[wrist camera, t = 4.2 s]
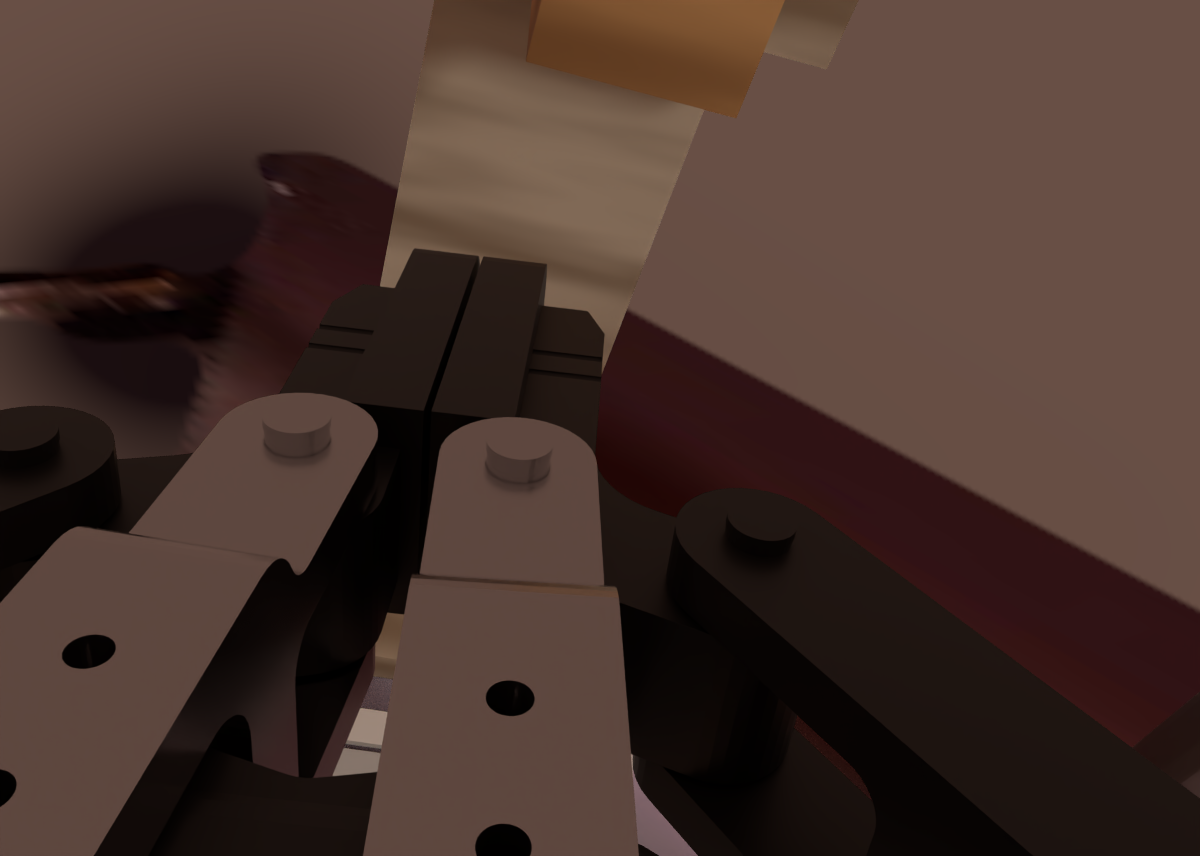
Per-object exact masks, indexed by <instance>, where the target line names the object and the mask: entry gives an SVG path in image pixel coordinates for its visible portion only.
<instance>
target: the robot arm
mask: <svg viewBox="0 0 1200 856" xmlns="http://www.w3.org/2000/svg"><path fill="white" fill-rule="evenodd" d="M546 278H547V264H544V263H535V262H527V261H519V260H511V259H502V258H494V257H486V256H484V257H483V259H482V261H481V264H480V259H479V256H476V255H468V254H459V253H451V252H443V251H434V250H426V249H418V248H415V249H413V251H412V253H411V255H410V257H409V259H408V261H407V263H406V265H405V268H404V270H403V272H402V274H401V276H400V278H399V280H398V282H397V284H396V286H395V288H389V287H381V286H373V285H364V284H363V285H361V286H359V287H357V288H356V289H354V290H352V291H351V292H349V293H347V294H345V295H344V296H342V297H340V298H338V299H337V300H335V301H333V302H332V304H331V306H330V307H329V309H328V311H327V313H326V314H325V316H324V318H323V319H322V321H321V323H320V328H319V329H317V330H316V331H315V333H314V335H313V337H312V338H311V340H310V342H309V347H308V348H307V347H306V349H305V350H304V352H303V354H302V356H301V357H300V359H299V361H298V362H297V364H296V366H295V368H294V369H293V371H292V373H291V374H290V376H289V378H288V380H287V381H286V383H285V385H284V386H283V388H282V390H281V392H280V393H279V394H277V395H270V396H266V397H262V398H258V399H255V400H252V401H249V402H246V403H244V404H242V405H240V406H238V407H236V408H234V409H233V410H231V411H230V412H228V413H227V414H226V415H225V416H224V417H223V418H222V419H221V420H220V421H219V422H218V423H217V425H216V426H215V427H214V428H213V430H212V431H211V432H210V433H209V435H208V436H207V437H206V438H205V440H204V441H203V442H202V443H201V444H200V446H199V447H198V448H197V449H196V451H195V452H194V453H191V454H183V455H174V456H160V457H146V458H132V459H119V460H118V459H117V456H116V449H115V441H114V436H113V433H112V431H111V429H110V428H109V427H108V426H107V425H106V424H105V423H104V422H103V421H102V420H100V419H98V418H97V417H95V416H93V415H91V414H88V413H86V412H83V411H79V410H75V409H71V408H64V407H55V406H27V407H18V408H10V409H5V410H0V856H659V855H657V854H655V853H654V852H652V851H650V850H649V849H647V848H646V847H644V846H642V845H640V844H638V839H637V826H636V813H635V800H634V787H633V774H632V761H631V754H632V755H633V770H634V774H635V778H636V780H637V782H638V784H639V786H640V788H641V790H642V791H643V792H644V794H645V795H646V796H647V798H648V799H649V800H650V801H651V802H652V804H653V805H654V806H655V807H656V808H657V809H658V810H659V812H660V813H661V814H662V815H663V816H664V817H665V818H666V820H667V821H668V822H669V823H670V824H671V825H672V826H673V828H674V829H675V830H676V831H677V832H678V833H679V834H680V836H681V837H682V838H683V839H684V840H685V841H686V842H687V844H688V845H689V846H690V847H691V848H692V849H693V850H694V852H695V853H696V854H697V855H698V856H1200V692H1199V693H1198V694H1197V695H1195V696H1194V697H1193V698H1192V699H1190V700H1189V701H1188V702H1187V703H1186V704H1184V705H1183V706H1182V707H1181V708H1180V709H1178V710H1177V711H1176V712H1175V713H1173V714H1172V715H1171V716H1170V717H1169V718H1167V719H1166V720H1165V721H1164V722H1163V723H1161V724H1160V725H1159V726H1158V727H1156V728H1155V729H1154V730H1153V731H1152V732H1150V733H1149V734H1148V735H1147V736H1146V737H1144V738H1143V739H1142V740H1141V741H1140V742H1138V743H1137V744H1136V745H1135V746H1133V747H1130V746H1129V745H1127V744H1126V743H1125V742H1123V741H1122V740H1121V739H1119V738H1118V737H1117V736H1115V735H1114V734H1113V733H1111V732H1110V731H1109V730H1107V729H1106V728H1105V727H1103V726H1102V725H1101V724H1099V723H1098V722H1097V721H1095V720H1094V719H1093V718H1091V717H1090V716H1089V715H1087V714H1086V713H1084V712H1083V711H1082V710H1080V709H1079V708H1078V707H1076V706H1075V705H1074V704H1072V703H1071V702H1070V701H1068V700H1067V699H1066V698H1064V697H1063V696H1062V695H1060V694H1059V693H1058V692H1056V691H1055V690H1054V689H1052V688H1051V687H1050V686H1048V685H1047V684H1046V683H1044V682H1043V681H1041V680H1040V679H1039V678H1037V677H1036V676H1035V675H1033V674H1032V673H1031V672H1029V671H1028V670H1027V669H1025V668H1024V667H1023V666H1021V665H1020V664H1019V663H1017V662H1016V661H1015V660H1013V659H1012V658H1011V657H1009V656H1008V655H1007V654H1005V653H1004V652H1003V651H1001V650H1000V649H998V648H997V647H996V646H994V645H993V644H992V643H990V642H989V641H988V640H986V639H985V638H984V637H982V636H981V635H980V634H978V633H977V632H976V631H974V630H973V629H972V628H970V627H969V626H968V625H966V624H965V623H964V622H962V621H961V620H960V619H958V618H957V617H955V616H954V615H953V614H951V613H950V612H949V611H947V610H946V609H945V608H943V607H942V606H941V605H939V604H938V603H937V602H935V601H934V600H933V599H931V598H930V597H929V596H927V595H926V594H925V593H923V592H922V591H921V590H919V589H918V588H917V587H915V586H914V585H912V584H911V583H910V582H908V581H907V580H906V579H904V578H903V577H902V576H900V575H899V574H898V573H896V572H895V571H894V570H892V569H891V568H890V567H888V566H887V565H886V564H884V563H883V562H882V561H880V560H879V559H878V558H876V557H875V556H874V555H872V554H871V553H869V552H868V551H867V550H865V549H864V548H863V547H861V546H860V545H859V544H857V543H856V542H855V541H853V540H852V539H851V538H849V537H848V536H847V535H845V534H844V533H843V532H841V531H840V530H839V529H837V528H836V527H835V526H833V525H832V524H831V523H829V522H828V521H826V520H825V519H824V518H822V517H821V516H820V515H818V514H817V513H816V512H814V511H812V510H811V509H809V508H808V507H806V506H804V505H802V504H800V503H798V502H796V501H794V500H792V499H789V498H787V497H784V496H781V495H778V494H774V493H771V492H767V491H761V490H756V489H745V488H727V489H719V490H714V491H710V492H706V493H703V494H701V495H699V496H696V497H694V498H693V499H691V500H690V501H688V502H687V503H686V504H685V505H684V506H683V507H682V508H681V509H680V511H679V513H678V515H677V518H676V517H673V516H670V515H667V514H664V513H661V512H658V511H655V510H652V509H650V508H647V507H644V506H642V505H640V504H638V503H636V502H634V501H632V500H630V499H628V498H627V497H625V496H624V495H622V494H621V493H619V492H618V491H617V490H615V489H614V488H613V487H612V486H611V485H610V484H609V483H608V482H607V481H606V480H605V479H604V478H603V476H602V474H601V473H600V471H599V469H598V467H597V462H596V457H595V449H596V437H597V424H598V412H599V399H600V387H601V374H602V360H603V349H604V336H605V334H604V332H603V331H602V329H601V328H600V327H599V325H598V324H597V323H596V321H595V320H594V319H593V317H592V316H591V315H590V313H589V312H588V311H583V310H575V309H567V308H558V307H550V306H544V300H545V290H546ZM387 613H394V614H403V615H404V619H403V625H402V631H401V637H400V642H399V648H398V654H397V660H396V666H395V672H394V677H393V683H392V689H391V695H390V701H389V707H388V713H387V718H386V724H385V730H384V736H383V742H382V748H381V754H380V759H379V765H378V771H377V772H371V773H360V774H350V775H339V776H333V773H334V771H335V768H336V766H337V763H338V761H339V759H340V756H341V754H342V751H343V749H344V746H345V744H346V742H347V739H348V737H349V734H350V732H351V729H352V727H353V725H354V722H355V720H356V717H357V715H358V713H359V710H360V708H361V705H362V703H363V700H364V698H365V696H366V693H367V691H368V688H369V686H370V683H371V681H372V679H373V675H374V672H375V649H376V642H377V641H378V639H379V636H380V634H381V632H382V628H383V625H384V622H385V619H386V615H387ZM797 715H798V716H799V717H800V718H801V719H802V720H803V721H804V722H805V723H806V724H807V725H808V726H810V727H811V728H812V729H813V730H814V731H815V732H816V733H817V734H818V735H819V736H820V737H821V738H823V739H824V740H825V741H826V742H827V743H828V744H829V745H830V746H831V747H832V748H833V749H834V750H835V751H837V752H838V753H839V754H840V755H841V756H842V757H843V758H844V759H845V760H846V761H847V762H848V763H849V764H850V765H851V766H852V767H853V768H854V769H855V770H856V772H857V773H858V774H859V775H860V777H861V778H862V780H863V782H864V783H865V785H866V787H867V789H868V791H869V793H870V795H871V798H872V801H873V802H872V801H871V800H870V799H869V798H868V797H867V796H866V795H865V794H864V793H863V792H862V791H861V790H860V789H859V788H858V787H856V786H855V785H854V784H853V783H852V782H851V781H850V780H849V779H848V778H847V777H846V776H845V775H844V774H843V773H842V772H841V771H839V770H838V769H837V768H836V767H835V766H834V765H833V764H832V763H831V762H830V761H829V760H828V759H827V758H826V757H825V756H824V755H822V754H821V753H820V752H819V751H818V750H817V749H816V748H815V747H814V746H813V745H812V744H811V743H810V742H809V741H808V740H806V739H805V738H804V737H803V736H802V735H801V734H800V733H799V732H798V731H797V730H796V729H795V728H794V726H795V722H796V719H797Z"/></svg>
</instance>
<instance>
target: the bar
mask: <svg viewBox="0 0 1200 856" xmlns="http://www.w3.org/2000/svg"><path fill="white" fill-rule="evenodd" d="M784 1H785V0H532V3H531V14H530V24H529V34H528V44H527V54H526V62H529V63H533V64H536V65H540V66H544V67H547V68H551V69H555V70H559V71H562V72H566V73H570V74H573V75H577V76H581V77H585V78H588V79H592V80H596V81H599V82H603V83H607V84H611V85H614V86H618V87H622V88H625V89H629V90H633V91H637V92H640V93H644V94H648V95H651V96H655V97H659V98H663V99H666V100H670V101H674V102H677V103H681V104H685V105H689V106H692V107H696V108H700V109H703V110H707V111H711V112H715V113H718V114H722V115H726V116H730V117H734V118H737V115H738V113H739V110H740V108H741V106H742V103H743V101H744V98H745V96H746V93H747V91H748V89H749V86H750V84H751V81H752V79H753V77H754V74H755V72H756V69H757V67H758V64H759V62H760V59H761V57H762V55H763V52H764V50H765V47H766V45H767V43H768V40H769V38H770V35H771V33H772V30H773V28H774V26H775V23H776V21H777V18H778V16H779V13H780V11H781V9H782V6H783V4H784Z"/></svg>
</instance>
